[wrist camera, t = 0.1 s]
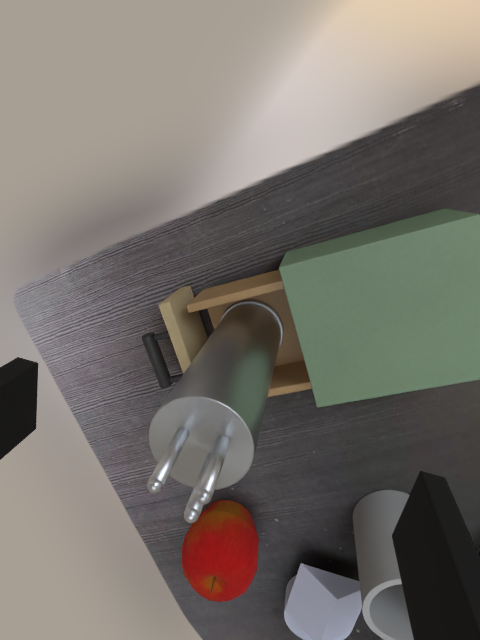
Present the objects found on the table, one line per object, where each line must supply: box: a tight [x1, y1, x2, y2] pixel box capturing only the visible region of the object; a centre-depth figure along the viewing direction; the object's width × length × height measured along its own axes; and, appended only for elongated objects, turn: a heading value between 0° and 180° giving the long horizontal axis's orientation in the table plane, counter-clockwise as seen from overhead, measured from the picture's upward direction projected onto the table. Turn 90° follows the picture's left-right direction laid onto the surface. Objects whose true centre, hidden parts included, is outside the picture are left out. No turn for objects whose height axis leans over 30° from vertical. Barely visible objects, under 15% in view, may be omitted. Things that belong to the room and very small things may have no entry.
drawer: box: [142, 270, 312, 397], centre depth 42 cm, size 19×13×7 cm
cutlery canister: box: [147, 299, 284, 523], centre depth 32 cm, size 7×7×26 cm
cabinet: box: [279, 208, 480, 407], centre depth 39 cm, size 16×14×9 cm
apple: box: [182, 500, 259, 602], centre depth 49 cm, size 9×9×12 cm
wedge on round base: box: [284, 564, 362, 640], centre depth 53 cm, size 9×7×13 cm
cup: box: [352, 490, 414, 640], centre depth 45 cm, size 9×9×12 cm
